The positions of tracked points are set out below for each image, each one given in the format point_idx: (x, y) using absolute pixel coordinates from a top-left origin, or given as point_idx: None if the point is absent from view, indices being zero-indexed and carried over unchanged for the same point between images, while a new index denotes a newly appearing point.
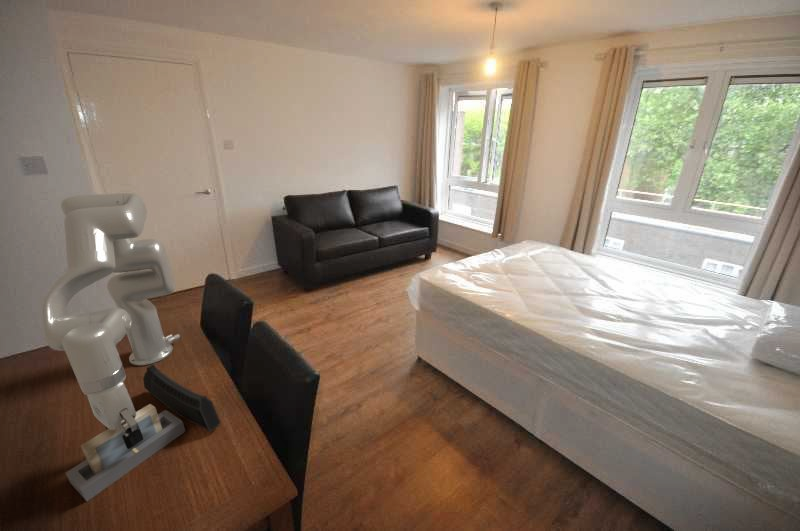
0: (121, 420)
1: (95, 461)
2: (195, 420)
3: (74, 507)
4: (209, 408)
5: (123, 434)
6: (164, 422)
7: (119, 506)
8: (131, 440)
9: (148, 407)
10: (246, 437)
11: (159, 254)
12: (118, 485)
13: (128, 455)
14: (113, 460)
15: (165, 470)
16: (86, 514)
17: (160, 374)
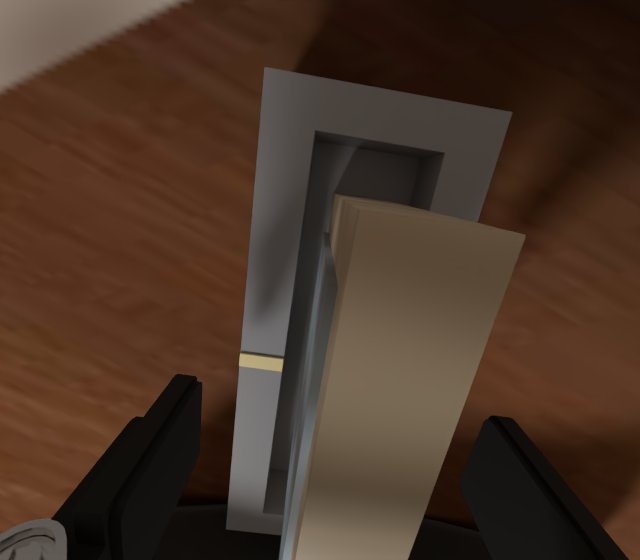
0: (472, 513)
1: (337, 222)
2: (213, 529)
3: (304, 52)
4: None
5: (64, 549)
6: None
7: (111, 146)
8: (100, 460)
9: None
10: (8, 515)
11: None
12: (232, 213)
13: (264, 330)
14: (316, 281)
15: (125, 332)
16: (207, 52)
17: None
